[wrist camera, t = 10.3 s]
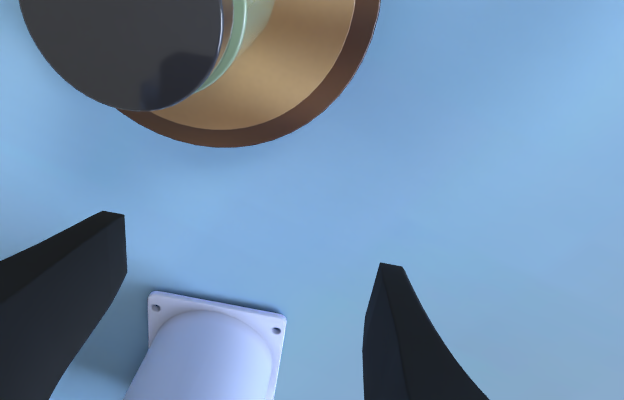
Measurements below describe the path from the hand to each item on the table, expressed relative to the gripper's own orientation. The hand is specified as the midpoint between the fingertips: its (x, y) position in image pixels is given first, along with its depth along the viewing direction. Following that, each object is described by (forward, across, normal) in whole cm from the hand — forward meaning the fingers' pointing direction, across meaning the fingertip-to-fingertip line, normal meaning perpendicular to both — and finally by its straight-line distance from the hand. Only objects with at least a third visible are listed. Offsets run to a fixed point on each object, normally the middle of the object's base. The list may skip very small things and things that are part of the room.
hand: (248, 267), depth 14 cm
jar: (+8, +4, -6) cm, 11 cm away
